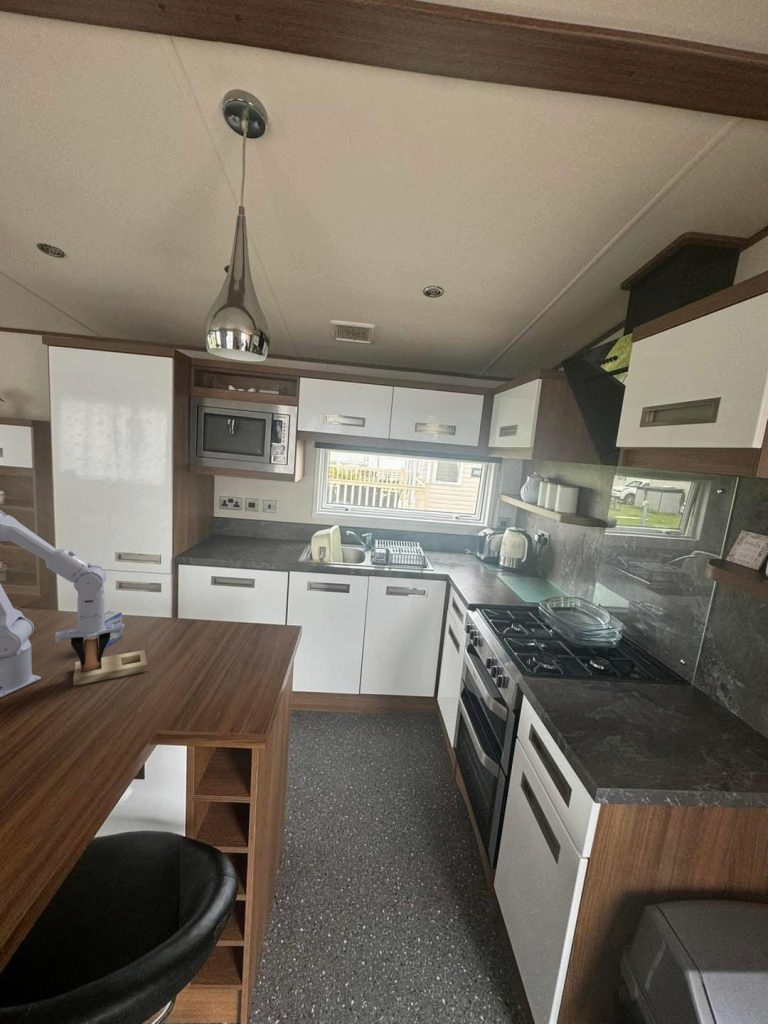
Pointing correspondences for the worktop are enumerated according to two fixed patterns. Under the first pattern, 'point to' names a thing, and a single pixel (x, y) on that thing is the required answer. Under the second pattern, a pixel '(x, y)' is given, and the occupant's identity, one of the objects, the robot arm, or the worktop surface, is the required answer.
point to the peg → (90, 654)
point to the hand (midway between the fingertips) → (91, 661)
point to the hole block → (111, 667)
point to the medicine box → (112, 618)
